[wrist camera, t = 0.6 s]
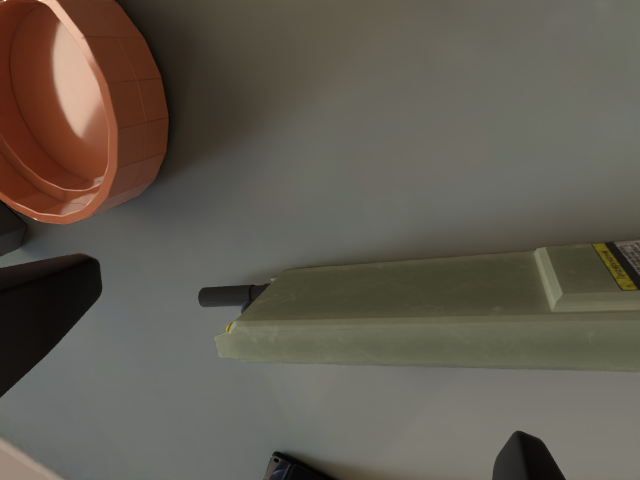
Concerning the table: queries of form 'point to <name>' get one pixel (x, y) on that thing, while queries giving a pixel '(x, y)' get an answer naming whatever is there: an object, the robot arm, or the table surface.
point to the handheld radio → (447, 312)
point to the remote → (10, 230)
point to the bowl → (76, 109)
